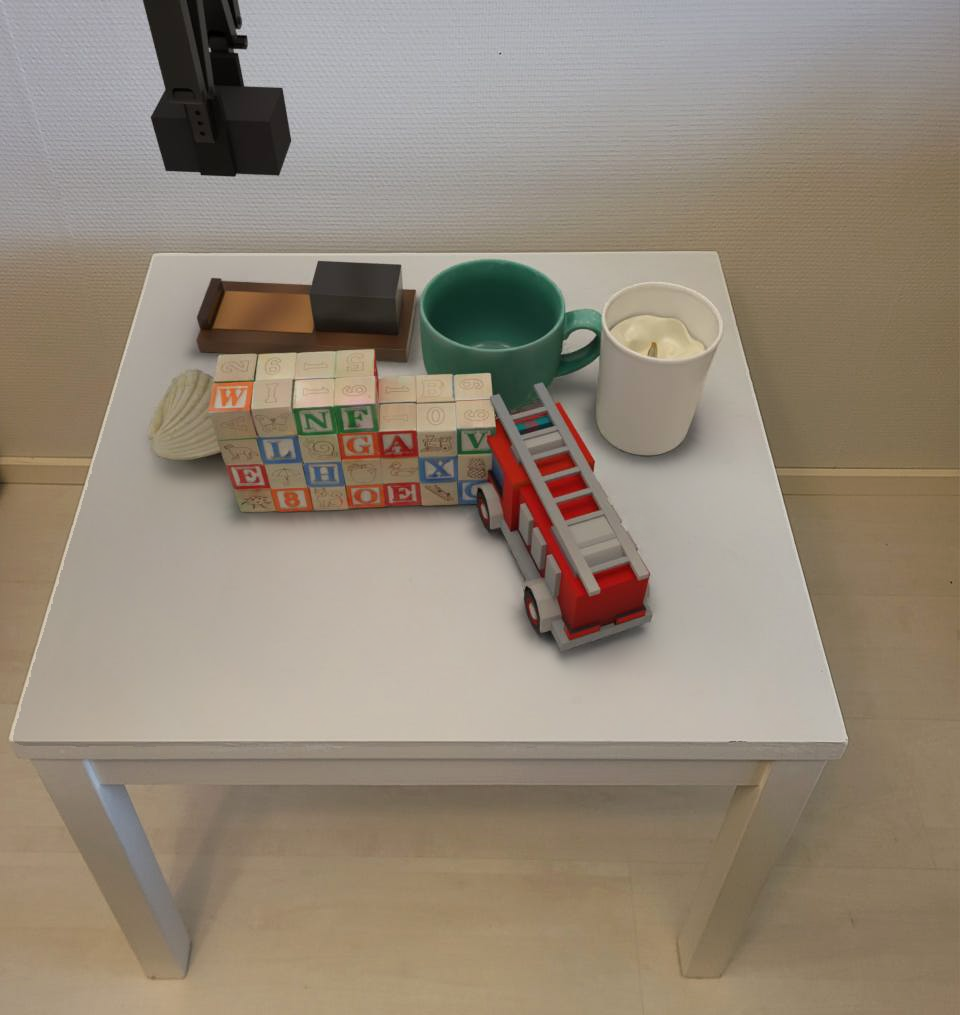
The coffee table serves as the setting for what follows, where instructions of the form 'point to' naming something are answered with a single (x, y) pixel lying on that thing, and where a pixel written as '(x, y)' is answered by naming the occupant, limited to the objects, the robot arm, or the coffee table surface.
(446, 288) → the mug
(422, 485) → the stack of blocks
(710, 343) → the candle holder
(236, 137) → the black block
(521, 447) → the toy fire truck
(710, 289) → the coffee table surface
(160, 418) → the seashell
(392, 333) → the brown wooden tray
